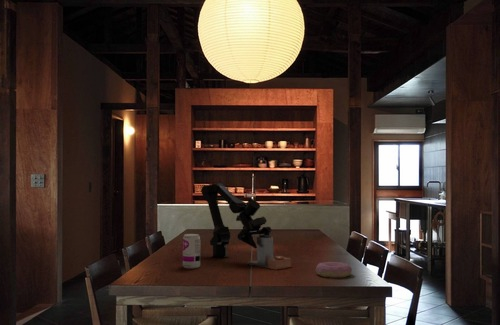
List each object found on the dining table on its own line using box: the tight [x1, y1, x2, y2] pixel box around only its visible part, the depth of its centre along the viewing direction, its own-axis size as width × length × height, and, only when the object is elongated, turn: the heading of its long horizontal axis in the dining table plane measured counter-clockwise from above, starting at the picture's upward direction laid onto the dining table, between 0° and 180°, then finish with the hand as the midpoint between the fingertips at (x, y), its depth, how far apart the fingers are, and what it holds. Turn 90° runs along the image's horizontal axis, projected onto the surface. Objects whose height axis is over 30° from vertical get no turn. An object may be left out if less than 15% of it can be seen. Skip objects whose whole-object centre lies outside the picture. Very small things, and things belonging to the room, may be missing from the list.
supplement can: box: [182, 233, 201, 269], centre depth 236 cm, size 8×8×15 cm
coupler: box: [247, 255, 292, 271], centre depth 239 cm, size 19×10×5 cm, turn 43°
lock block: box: [256, 235, 274, 264], centre depth 241 cm, size 6×6×13 cm
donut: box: [315, 261, 352, 279], centre depth 217 cm, size 16×15×5 cm
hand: (263, 246), depth 242 cm, fingers open, 9 cm apart
